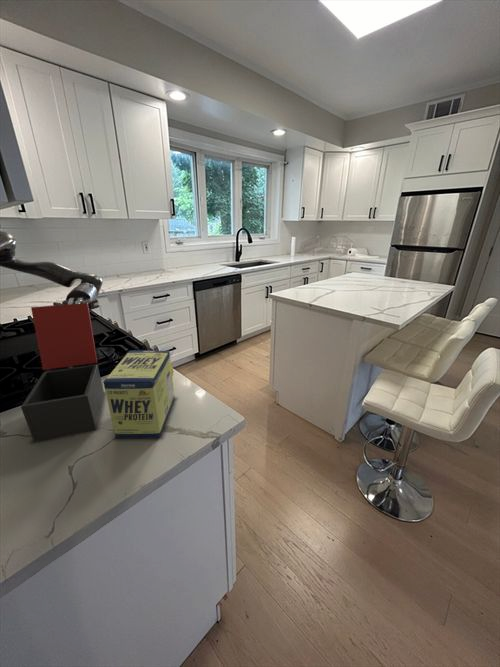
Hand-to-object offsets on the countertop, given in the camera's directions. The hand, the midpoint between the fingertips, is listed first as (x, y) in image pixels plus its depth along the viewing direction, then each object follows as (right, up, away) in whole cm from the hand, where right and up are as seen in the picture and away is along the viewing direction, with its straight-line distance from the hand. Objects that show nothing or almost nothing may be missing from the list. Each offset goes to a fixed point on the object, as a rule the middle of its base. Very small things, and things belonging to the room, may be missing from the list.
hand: (70, 313), depth 79 cm
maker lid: (+3, -7, -7) cm, 10 cm away
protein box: (+26, -27, -8) cm, 38 cm away
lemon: (+25, -21, +7) cm, 34 cm away
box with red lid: (+6, -27, -8) cm, 29 cm away
